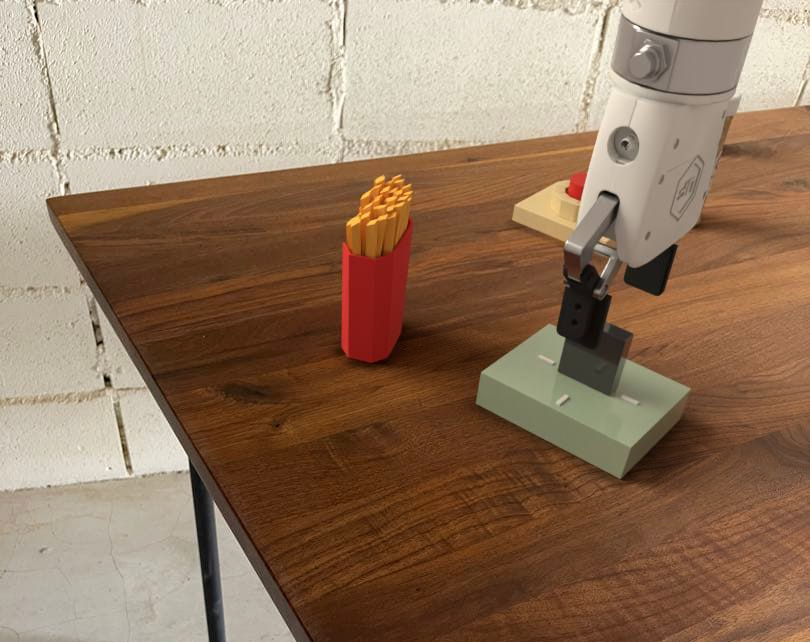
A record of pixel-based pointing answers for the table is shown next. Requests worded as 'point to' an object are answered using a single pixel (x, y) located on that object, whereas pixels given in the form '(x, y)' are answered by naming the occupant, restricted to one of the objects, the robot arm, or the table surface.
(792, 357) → the table surface
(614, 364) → the red-topped dark block
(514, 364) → the green flat block
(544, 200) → the switch block
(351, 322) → the french fries
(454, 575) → the table surface
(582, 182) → the power button
